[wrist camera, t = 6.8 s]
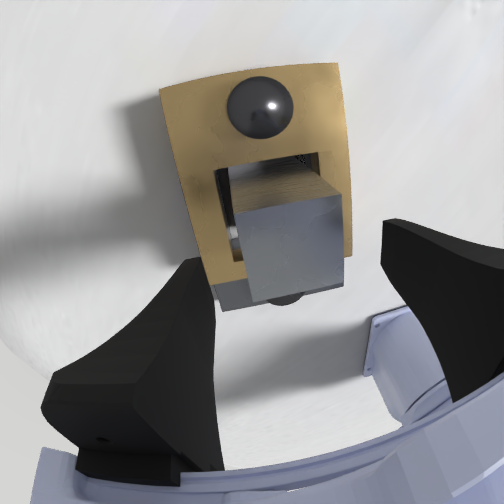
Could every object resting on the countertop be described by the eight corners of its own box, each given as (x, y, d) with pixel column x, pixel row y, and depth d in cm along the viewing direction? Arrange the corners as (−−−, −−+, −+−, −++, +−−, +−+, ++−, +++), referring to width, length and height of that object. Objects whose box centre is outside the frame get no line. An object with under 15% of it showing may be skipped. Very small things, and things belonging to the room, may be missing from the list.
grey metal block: (299, 213, 19) (343, 282, 12) (240, 225, 19) (253, 302, 12) (291, 155, 17) (341, 194, 10) (227, 166, 17) (233, 214, 10)
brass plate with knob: (336, 275, 22) (357, 309, 18) (221, 299, 22) (223, 338, 18) (319, 68, 14) (347, 60, 11) (169, 92, 14) (153, 88, 11)
